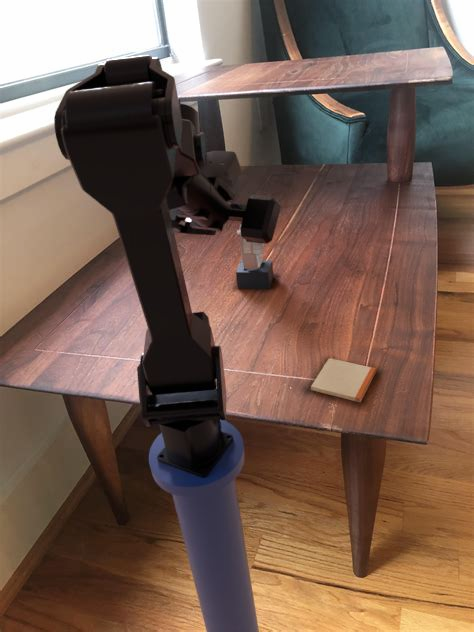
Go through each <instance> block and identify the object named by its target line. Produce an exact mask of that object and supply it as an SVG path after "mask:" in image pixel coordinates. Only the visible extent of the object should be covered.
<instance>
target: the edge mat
mask: <svg viewBox="0 0 474 632" xmlns="http://www.w3.org/2000/svg"><path fill="white" fill-rule="evenodd" d="M376 373H377V368H376V367H373V366H367V365H362V364H358V363H354V362H348V361H345V360H340V359H335V358H331V357H329V358H328V359H327V361H326V362H325V363H324V366H323V367H322V368H321V370H320V372H319V373H318V375H317V376H316V378H315V379H314V381H313V383H312V384H311V386H310V390H311V391H314V392H317V393H322V394H324V395H329V396H333V397H337V398H341V399H344V400H348V401H349V400H350V401H352V402H357V403H361V402H362V400H363V398H364V397H365V395H366V393H367V391H368V389H369V387H370V385H371V383H372V381H373V379H374V377H375V375H376Z"/></svg>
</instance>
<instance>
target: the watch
mask: <svg viewBox="0 0 474 632" xmlns="http://www.w3.org/2000/svg"><path fill="white" fill-rule="evenodd" d="M240 226H241V224H240ZM240 226H239V227H240ZM236 233H237V234H236V235H239V236H240V252H241V254H240V258H241V260H240V262H239V264H238V267H237V269H236V271H235V275H236V276H235V277H236V285H237V286H236V287H237V289H238V290H239V289H241V290H242V289H245V290H247V289H248V290H250V289H253V290H254V289H255V290H256V289H258V290H264V289H265V290H270V289H271V286H272V283H273V279H274V277H275V275H274V266H273V260H263V257H264V246H265V245H266V243H254V242H247V241H246V239H244V238H243V237H241V231H240V229H237V231H236Z"/></svg>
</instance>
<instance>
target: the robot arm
mask: <svg viewBox="0 0 474 632" xmlns="http://www.w3.org/2000/svg"><path fill="white" fill-rule="evenodd" d="M63 94H64V95H63V96H62V98H61V101H60V103H59V104H58V106H57V108H56V110H55V113H54V117H53V119H54V120H53V121H54V123H53V125H54V126H53V128H54V134H55V138H56V141H57V146H58V149H59V151H60V153H61V155H62V156H63V157H64V159H65V160H67V161H69V163H70V165H71V167H72V170H73V172H74V175H75V177H76V179H77V182H78V184H79V186H80V188H81V190H82V191H83V192H84V193H85V194H87V195H88V196H89V197H90V198H91V199H93V200H94V201H96V203H98V204H99V205H100V206H102V207H103V208H104V209H106V210H107V211H108V212H109V213H111V214H112V217H113V220H114V223H115V226H116V231H117V234H118V237H119V239H120V243H121V246H122V249H123V253H124V255H125V259H126V262H127V265H128V268H129V272H130V274H131V278H132V281H133V284H134V287H135V291H136V294H137V297H138V300H139V304H140V307H141V310H142V313H143V316H144V320H145V323H146V326H147V329H146V332H145V337H144V338H145V339H144V345H143V352H142V353H141V354H140V360H139V363H138V365H137V367H136V374H137V386H138V387H137V388H138V399H139V406H140V409H141V418H142V421H143V423H144V425H145V427H152V426H157V425H158V426H159V428H160V434H161V433H162V437H163V441H164V445H165V447H164V449H163V450H162V451H161V452H160V453H159V455H158V456H157V459H158V461H159V462H161V463H163V464H166V465H169V466H171V467H174V468H177V469H179V470H182V471H185V472H187V473H190V474H193V475H196V476H198V477H201V478H205V477H207V476H208V475H209V473H210V472H211V471H212V469H213V468H214V466H215V465H216V464H217V462H218V461H219V460H220V458H221V457H222V455H223V454H224V453H225V451H226V450H227V448H228V447H229V446H230V444H231V443H232V442H233V436H232V435H231V434H228V433H225V432H222V431H221V428H222V427H221V421H220V419H221V420H224V421H227V384H226V376H225V368H224V360H223V359H224V358H223V351H222V350H223V349H222V347H221V345H216V342H215V338H214V335H213V331H212V327H211V325H210V318H209V316H208V315H207V314H206V312H205V311H196V312H193V310H192V306H191V302H190V297H189V292H188V288H187V284H186V279H185V275H184V270H183V266H182V261H181V258H180V253H179V248H178V243H177V239H176V235H175V233H176V234H186V235H201V236H215V235H216V234H217V232H223V229H224V226H225V224H227V222H228V221H232V222H233V221H235V222H241V223H240V225H241V226H239V230H240V231H241V236H240V238H241V237H243V238H244V239H246V241H247V242H254V243H265V244H267V245H269V243H271V242H272V241H273V238H274V234H275V231H276V227H277V223H278V220H279V217H280V213H281V209H282V206H281V203H280V202H279V201H278V199H276V198H275V196H269V195H268V196H267V195H256V194H252V195H251V196H249V197H248V198H247V201H246V203H233V202H231V201H234V200H235V197H236V193H237V192H236V190H234V189H233V187H234V186H235V184H236V183H237V180H238V178H239V176H241V175H242V173H243V169H242V166H241V164H240V161H239V159H238V155H237V154H236V152H235V151H231V150H229V151H228V150H211V151H207V147H206V133H205V132H200V130H201V127H200V115H199V111H197V110H196V109H195V108H194V107H193V106H191V105H188V104H185V103H182V102H181V99H180V98H179V96H178V90H177V85H176V79H175V77H174V76H173V75H171V74H170V73H167V72H166V71H165V70H163V67H162V63H161V60H160V57H158V56H155V57H153V56H151V55H150V54H144V55H136V56H130V57H119V58H111V59H106V60H105V61H104V63H99V64H98V65H97V66H96V69H95V71H94V73H93V74H91V75H89V76H88V77H86V78H84V79H82V80H81V81H80V82H78V83H76V84H74V85H72V86H71V87H70V88H68V89H67V90H65V92H64V93H63ZM228 438H230V439H228ZM162 457H163V458H162ZM204 472H205V473H204Z"/></svg>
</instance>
